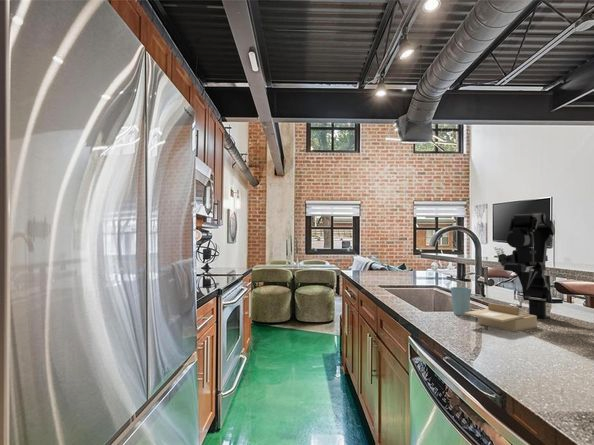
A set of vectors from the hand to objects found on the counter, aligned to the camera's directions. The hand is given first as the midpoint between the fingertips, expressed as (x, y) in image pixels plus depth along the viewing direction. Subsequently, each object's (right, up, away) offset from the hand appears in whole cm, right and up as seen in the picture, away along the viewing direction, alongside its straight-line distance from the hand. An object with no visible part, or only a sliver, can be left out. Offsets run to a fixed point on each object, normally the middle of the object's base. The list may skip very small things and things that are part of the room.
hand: (525, 289), depth 131 cm
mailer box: (-10, -12, -6) cm, 16 cm away
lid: (-17, -7, -9) cm, 20 cm away
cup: (-18, -13, +13) cm, 25 cm away
